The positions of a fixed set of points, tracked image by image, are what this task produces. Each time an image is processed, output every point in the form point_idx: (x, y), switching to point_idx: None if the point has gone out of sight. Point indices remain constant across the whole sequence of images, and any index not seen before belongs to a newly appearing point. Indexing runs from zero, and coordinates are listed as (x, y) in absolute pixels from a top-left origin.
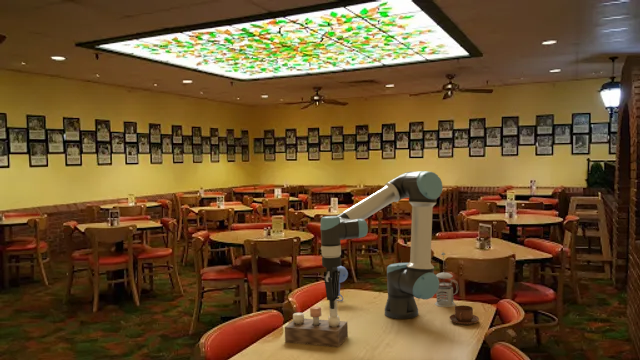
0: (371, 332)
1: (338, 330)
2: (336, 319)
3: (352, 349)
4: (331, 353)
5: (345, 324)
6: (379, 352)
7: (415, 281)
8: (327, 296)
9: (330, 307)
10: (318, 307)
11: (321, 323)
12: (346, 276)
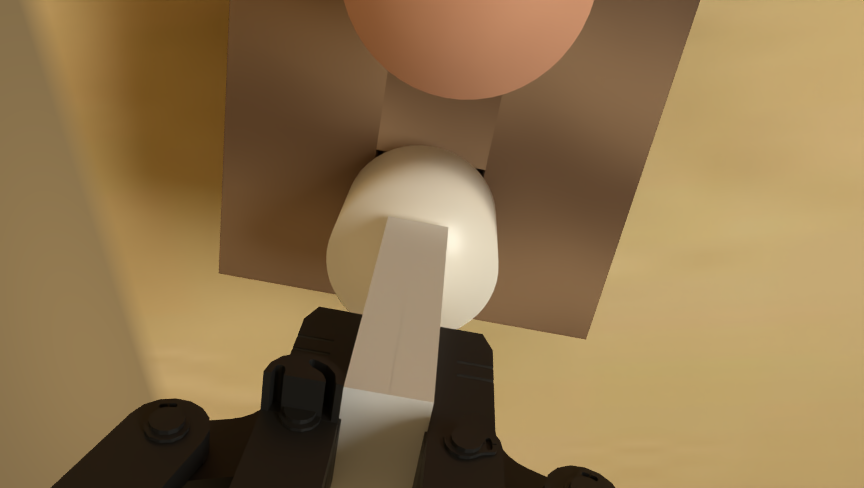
0: (670, 430)
1: (251, 276)
2: (349, 297)
3: (241, 313)
4: (105, 153)
5: (510, 319)
6: None
7: None
8: (77, 482)
9: (301, 328)
10: (512, 33)
11: None
12: None
